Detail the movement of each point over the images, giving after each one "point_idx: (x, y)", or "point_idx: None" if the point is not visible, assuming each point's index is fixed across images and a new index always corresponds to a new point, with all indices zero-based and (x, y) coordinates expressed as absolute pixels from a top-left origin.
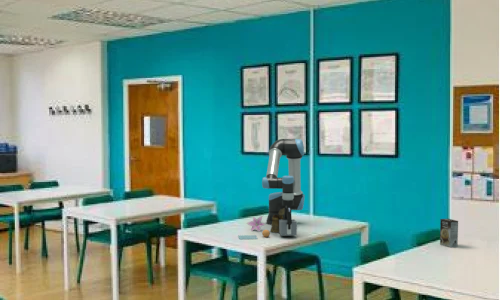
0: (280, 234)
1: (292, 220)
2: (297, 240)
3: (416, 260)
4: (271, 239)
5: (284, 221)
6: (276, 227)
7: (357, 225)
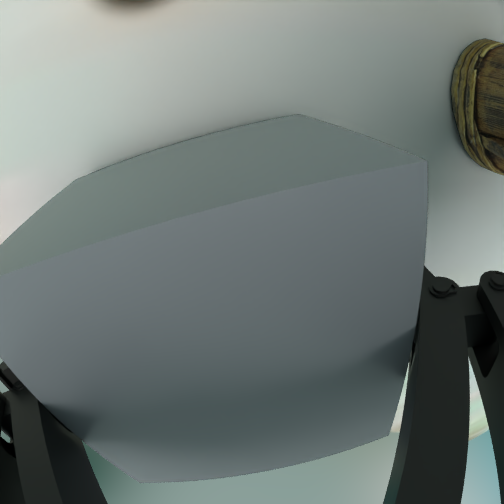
0: (140, 155)
1: (272, 451)
2: None
3: None
4: (14, 76)
5: (65, 361)
6: (497, 96)
7: (480, 429)
